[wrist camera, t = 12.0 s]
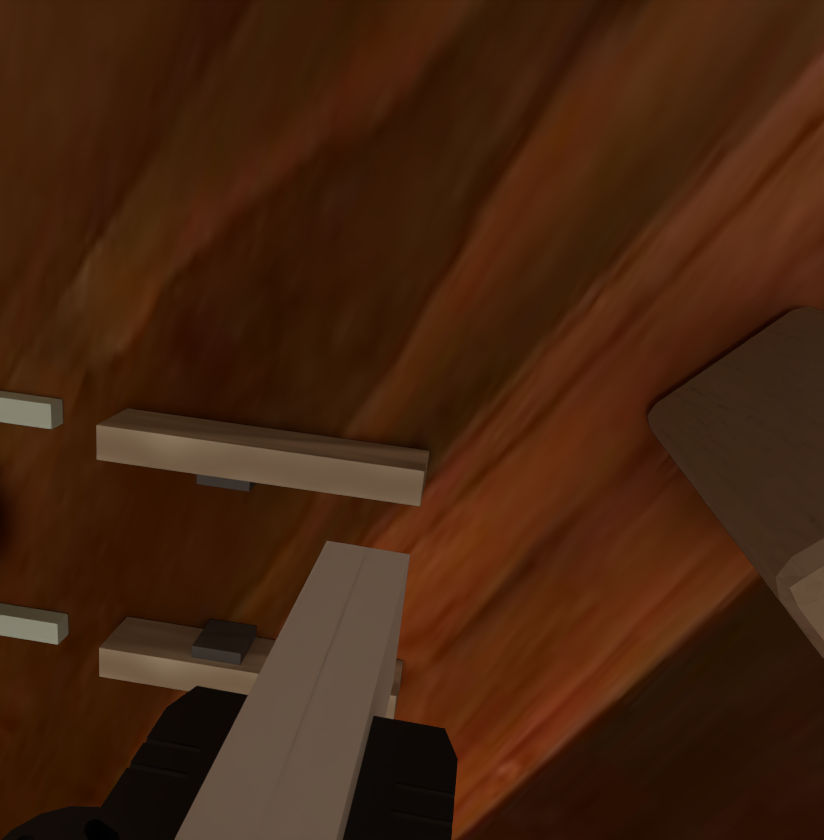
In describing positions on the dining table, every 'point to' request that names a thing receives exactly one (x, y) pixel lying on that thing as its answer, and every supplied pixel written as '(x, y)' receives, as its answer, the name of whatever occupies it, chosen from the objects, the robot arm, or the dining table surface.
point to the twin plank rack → (241, 469)
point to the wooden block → (762, 455)
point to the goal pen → (16, 617)
